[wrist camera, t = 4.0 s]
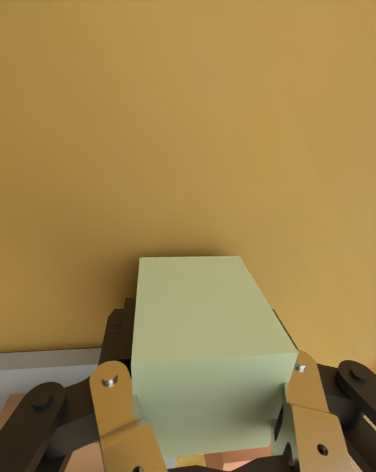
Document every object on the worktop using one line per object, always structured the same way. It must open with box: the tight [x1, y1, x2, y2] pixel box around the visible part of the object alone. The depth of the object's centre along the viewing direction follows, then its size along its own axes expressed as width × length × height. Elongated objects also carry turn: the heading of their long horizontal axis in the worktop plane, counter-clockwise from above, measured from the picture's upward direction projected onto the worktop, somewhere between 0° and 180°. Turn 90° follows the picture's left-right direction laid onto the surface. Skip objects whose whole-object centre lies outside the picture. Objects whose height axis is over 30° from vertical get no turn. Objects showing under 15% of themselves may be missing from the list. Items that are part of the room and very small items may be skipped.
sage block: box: [131, 256, 299, 459], centre depth 11 cm, size 5×5×6 cm
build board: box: [0, 348, 176, 469], centre depth 18 cm, size 12×12×1 cm
